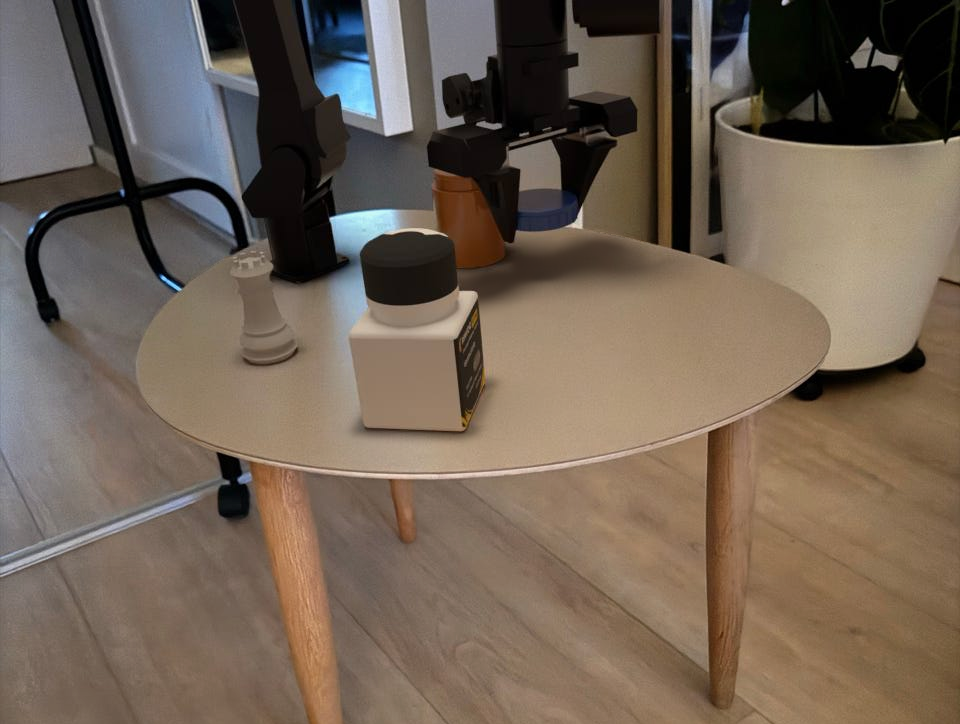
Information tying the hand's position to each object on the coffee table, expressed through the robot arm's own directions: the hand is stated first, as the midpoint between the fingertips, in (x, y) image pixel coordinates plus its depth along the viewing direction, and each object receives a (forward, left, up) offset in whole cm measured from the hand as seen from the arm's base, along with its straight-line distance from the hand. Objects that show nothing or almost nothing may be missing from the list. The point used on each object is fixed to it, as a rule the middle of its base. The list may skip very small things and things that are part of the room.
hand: (539, 232), depth 82 cm
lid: (0, 0, +2) cm, 2 cm away
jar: (-8, -1, -4) cm, 9 cm away
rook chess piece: (-6, -26, -4) cm, 27 cm away
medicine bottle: (+10, -24, -4) cm, 26 cm away
